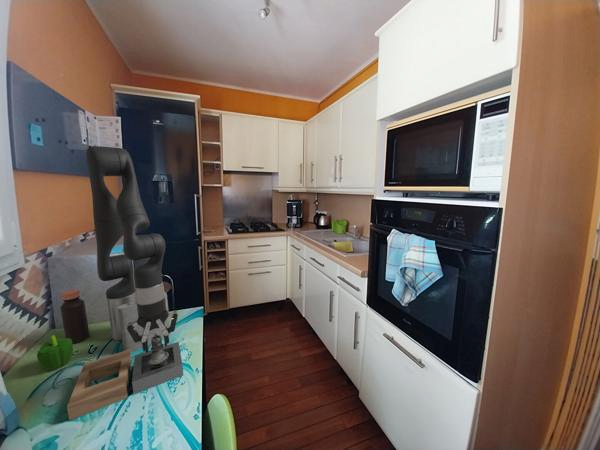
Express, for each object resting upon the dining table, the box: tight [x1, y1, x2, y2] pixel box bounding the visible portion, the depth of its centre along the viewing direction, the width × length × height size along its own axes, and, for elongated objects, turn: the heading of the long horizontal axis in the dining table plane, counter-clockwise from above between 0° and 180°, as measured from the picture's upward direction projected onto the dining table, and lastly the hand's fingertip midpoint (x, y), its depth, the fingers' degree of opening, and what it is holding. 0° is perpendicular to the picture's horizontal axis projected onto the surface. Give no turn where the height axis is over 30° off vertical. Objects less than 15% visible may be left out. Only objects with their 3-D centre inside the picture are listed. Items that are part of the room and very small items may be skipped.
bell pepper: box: [36, 334, 74, 371], centre depth 79 cm, size 8×8×10 cm
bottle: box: [60, 289, 90, 345], centre depth 92 cm, size 7×7×20 cm
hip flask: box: [118, 292, 171, 353], centre depth 89 cm, size 16×4×20 cm, turn 140°
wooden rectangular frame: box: [66, 350, 133, 421], centre depth 70 cm, size 18×12×4 cm, turn 32°
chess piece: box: [147, 334, 169, 371], centre depth 75 cm, size 6×6×12 cm
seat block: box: [131, 341, 184, 395], centre depth 76 cm, size 13×13×4 cm
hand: (156, 347), depth 75 cm, fingers open, 4 cm apart
